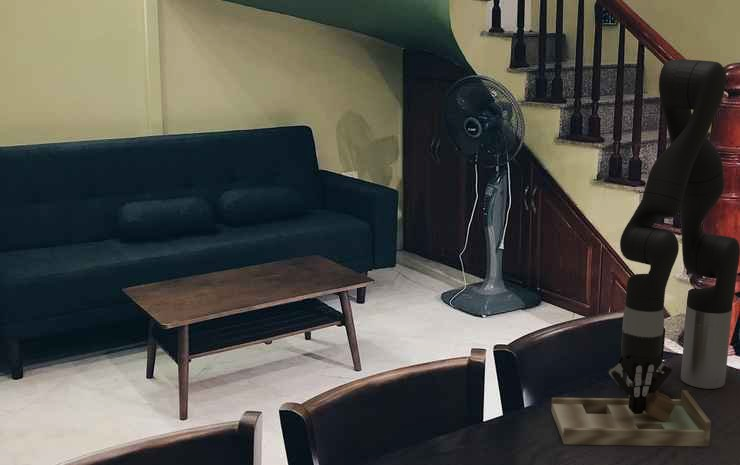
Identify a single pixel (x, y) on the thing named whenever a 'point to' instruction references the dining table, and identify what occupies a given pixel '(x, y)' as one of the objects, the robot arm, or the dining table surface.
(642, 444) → the tray
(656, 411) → the walnut block
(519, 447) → the dining table surface
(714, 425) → the dining table surface
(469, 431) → the dining table surface
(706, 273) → the robot arm
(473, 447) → the dining table surface
